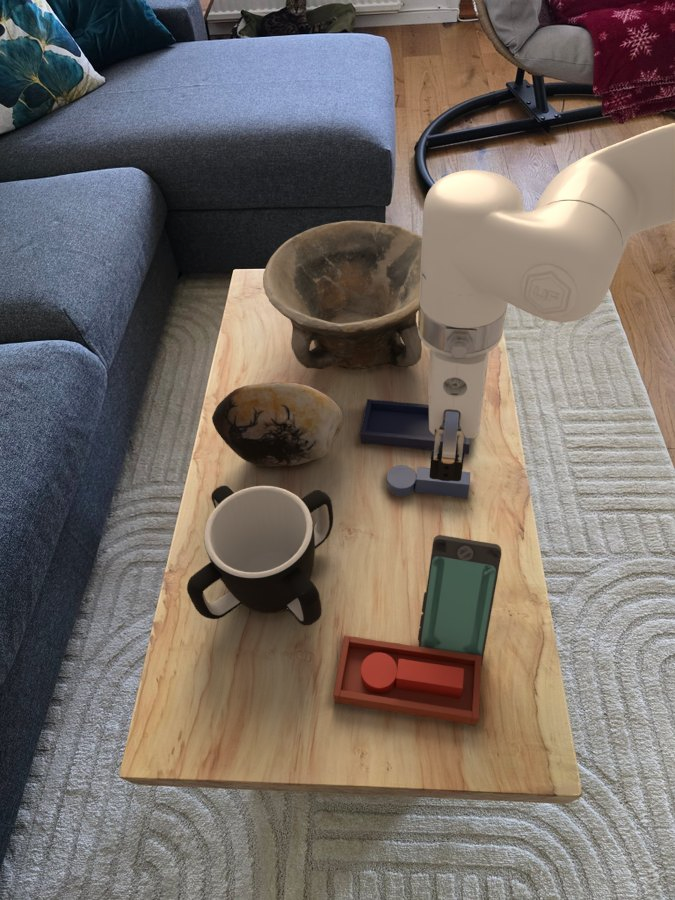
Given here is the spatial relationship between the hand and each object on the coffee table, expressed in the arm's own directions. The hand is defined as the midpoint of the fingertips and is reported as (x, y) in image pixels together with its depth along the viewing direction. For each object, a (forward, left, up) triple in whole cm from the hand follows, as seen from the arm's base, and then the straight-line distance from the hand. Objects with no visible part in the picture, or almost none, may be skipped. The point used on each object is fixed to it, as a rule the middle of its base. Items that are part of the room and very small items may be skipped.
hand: (447, 442), depth 73 cm
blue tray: (+5, -17, -19) cm, 26 cm away
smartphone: (-3, +12, -13) cm, 18 cm away
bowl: (+17, -35, -19) cm, 43 cm away
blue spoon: (+3, -7, -19) cm, 20 cm away
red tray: (+2, +20, -19) cm, 27 cm away
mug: (+20, +10, -19) cm, 29 cm away
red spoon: (+2, +20, -18) cm, 27 cm away
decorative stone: (+23, -9, -19) cm, 31 cm away
